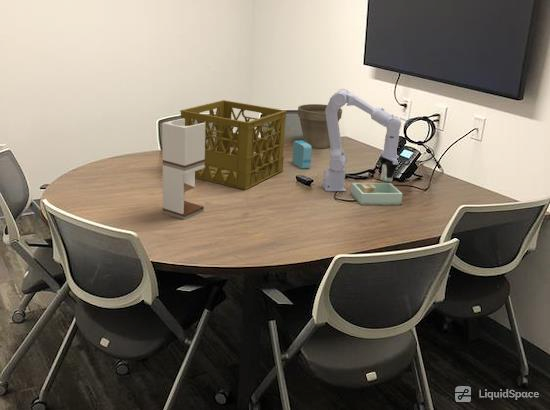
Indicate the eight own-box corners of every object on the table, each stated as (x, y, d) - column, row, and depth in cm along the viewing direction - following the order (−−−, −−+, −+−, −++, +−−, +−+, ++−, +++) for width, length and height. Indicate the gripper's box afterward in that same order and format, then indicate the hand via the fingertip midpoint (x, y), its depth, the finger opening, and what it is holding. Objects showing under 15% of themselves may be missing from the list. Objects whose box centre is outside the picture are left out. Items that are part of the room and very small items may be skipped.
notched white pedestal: (184, 219, 214) (185, 128, 202) (163, 213, 219) (162, 122, 207) (203, 211, 223) (205, 123, 211) (182, 205, 228) (183, 118, 216)
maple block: (363, 199, 245) (365, 188, 243) (359, 195, 250) (361, 184, 248) (374, 199, 246) (376, 188, 244) (370, 195, 251) (372, 184, 249)
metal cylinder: (383, 181, 248) (385, 166, 246) (379, 178, 253) (381, 162, 251) (393, 181, 249) (396, 166, 247) (389, 178, 254) (391, 162, 252)
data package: (310, 169, 285) (312, 145, 281) (302, 169, 284) (303, 146, 280) (299, 162, 296) (301, 139, 291) (291, 162, 294) (293, 140, 290)
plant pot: (292, 148, 321) (295, 109, 314) (298, 138, 344) (300, 102, 336) (336, 152, 318) (340, 114, 310) (339, 142, 341) (343, 106, 333)
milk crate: (179, 175, 264) (179, 110, 253) (221, 158, 294) (223, 100, 283) (245, 190, 249) (248, 123, 239) (282, 171, 279) (287, 110, 268)
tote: (360, 205, 241) (362, 193, 239) (350, 193, 254) (351, 183, 252) (401, 204, 244) (402, 193, 243) (389, 193, 257) (390, 183, 255)
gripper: (406, 150, 240) (402, 180, 245) (393, 141, 253) (389, 170, 258) (390, 150, 238) (386, 180, 243) (378, 141, 252) (374, 170, 257)
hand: (386, 175), depth 251 cm, fingers closed on metal cylinder, 5 cm apart
